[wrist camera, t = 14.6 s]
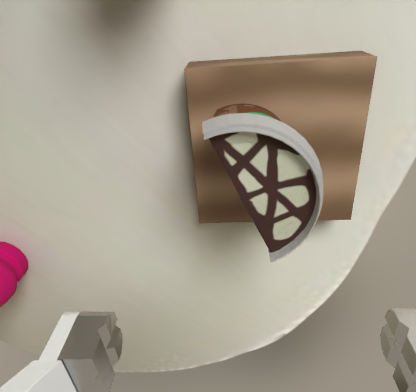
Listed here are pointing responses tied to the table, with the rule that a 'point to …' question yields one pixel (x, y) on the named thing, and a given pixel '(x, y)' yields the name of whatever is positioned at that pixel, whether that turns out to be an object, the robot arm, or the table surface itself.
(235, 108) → the food container
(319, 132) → the walnut base
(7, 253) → the pepper mill
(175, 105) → the table surface
